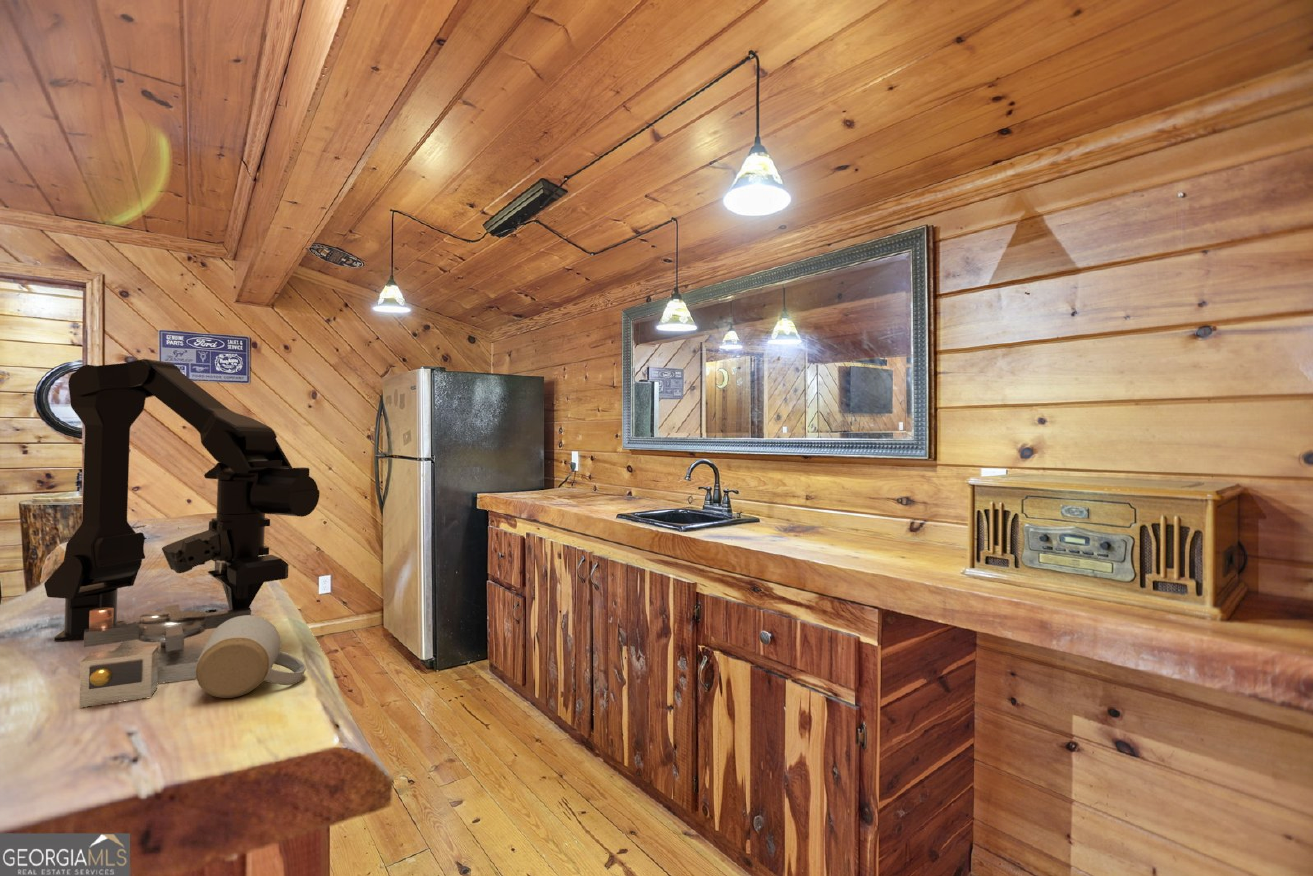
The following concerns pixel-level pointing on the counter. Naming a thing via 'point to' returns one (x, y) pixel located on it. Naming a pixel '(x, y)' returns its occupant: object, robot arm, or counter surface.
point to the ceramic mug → (244, 658)
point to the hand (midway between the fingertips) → (237, 620)
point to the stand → (137, 669)
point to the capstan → (155, 626)
